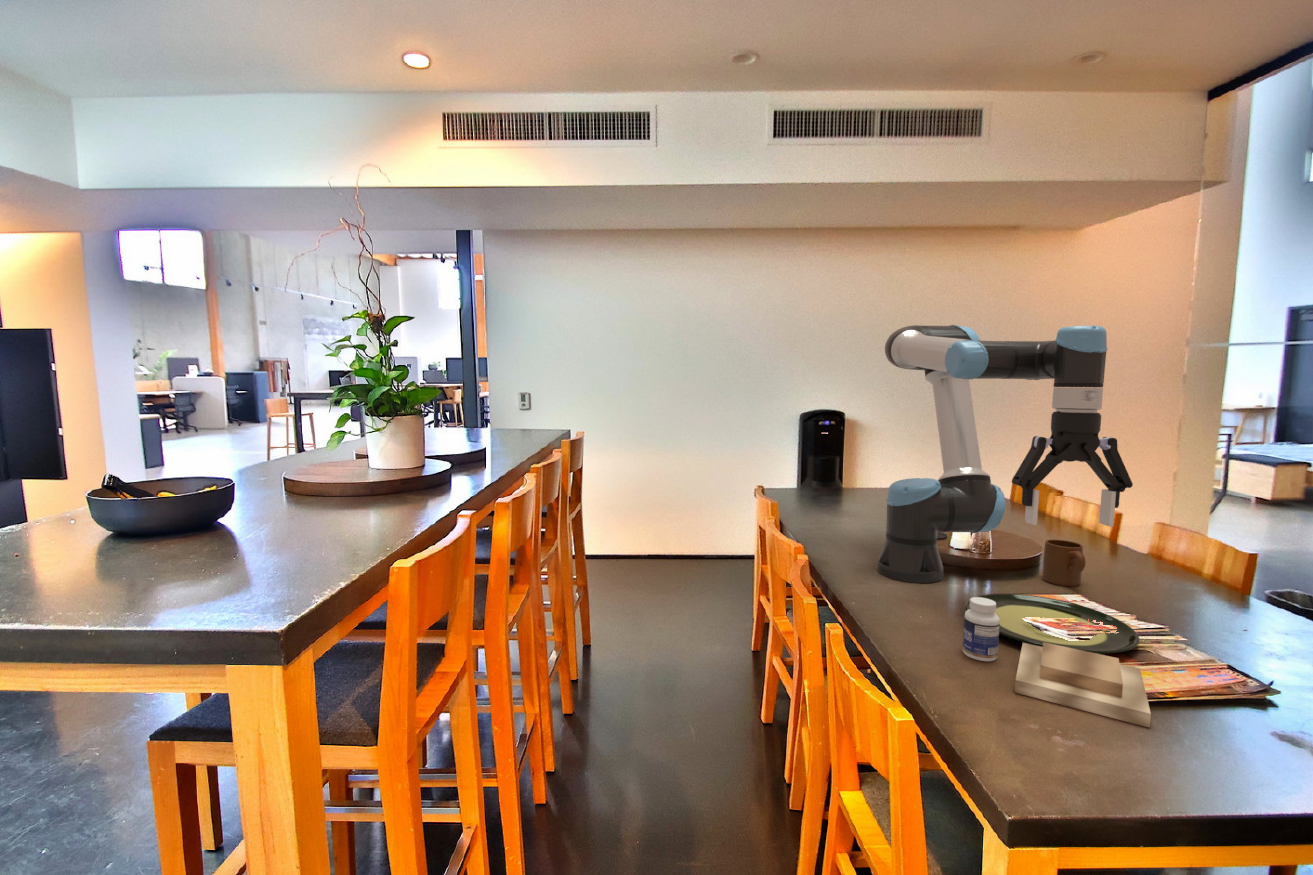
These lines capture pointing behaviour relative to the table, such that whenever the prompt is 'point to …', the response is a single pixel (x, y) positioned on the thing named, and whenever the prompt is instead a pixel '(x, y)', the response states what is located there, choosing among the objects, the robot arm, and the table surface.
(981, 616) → the pill bottle
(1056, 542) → the mug
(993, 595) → the plate
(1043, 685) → the base
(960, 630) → the table surface
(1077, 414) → the robot arm
